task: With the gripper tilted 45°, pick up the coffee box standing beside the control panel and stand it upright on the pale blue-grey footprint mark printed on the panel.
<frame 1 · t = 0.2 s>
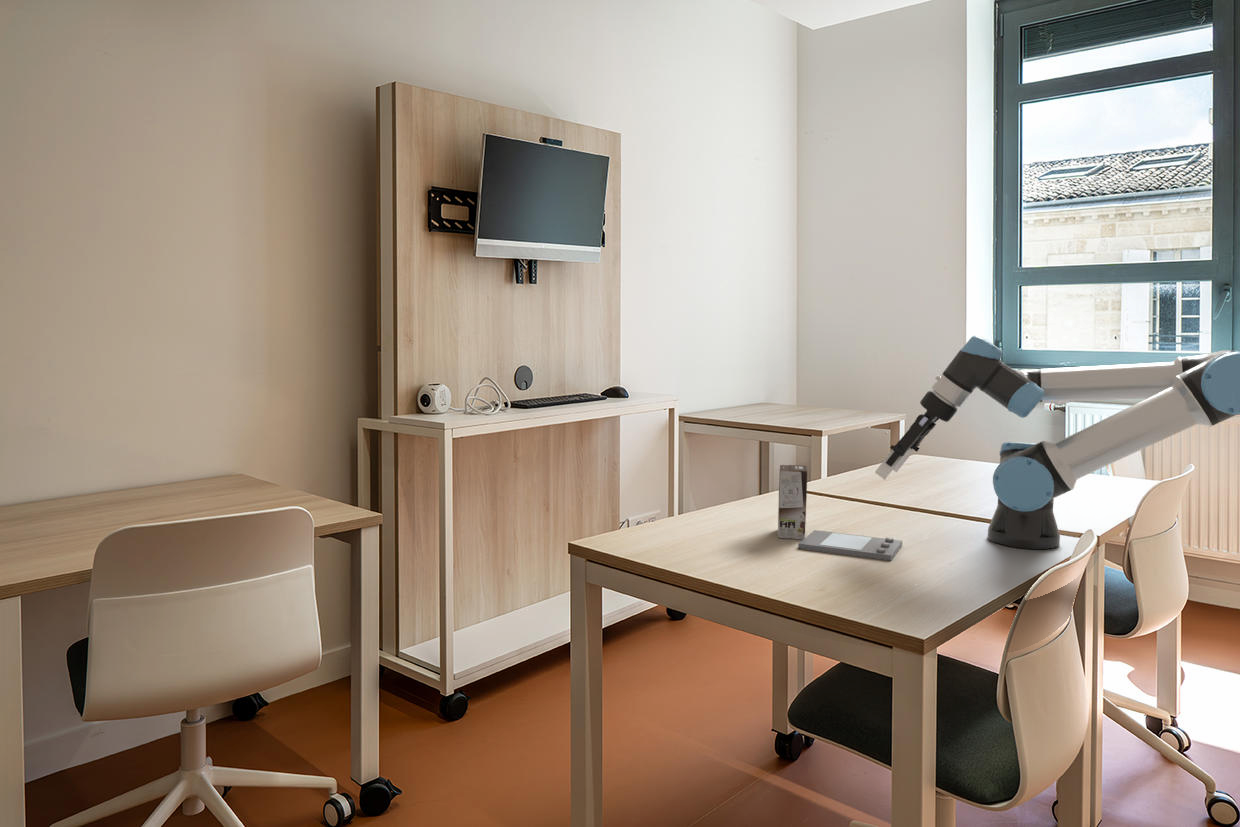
hand: (885, 472, 198), 16 cm above the table, tool tilted 35°, fingers open, 13 cm apart
coffee box: (791, 535, 203), on the table
control panel: (850, 547, 192), on the table
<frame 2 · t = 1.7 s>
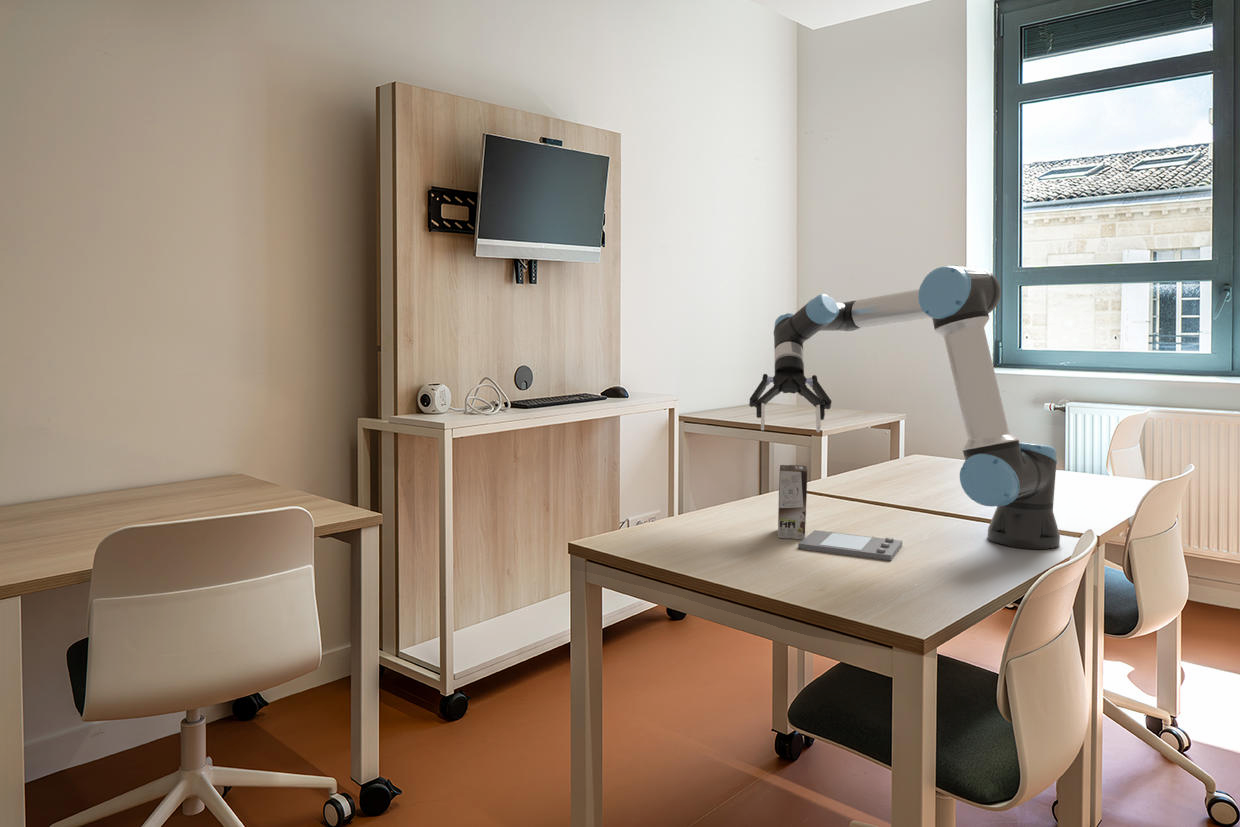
hand: (790, 428, 211), 24 cm above the table, tool tilted 45°, fingers open, 13 cm apart
nothing on the table moved.
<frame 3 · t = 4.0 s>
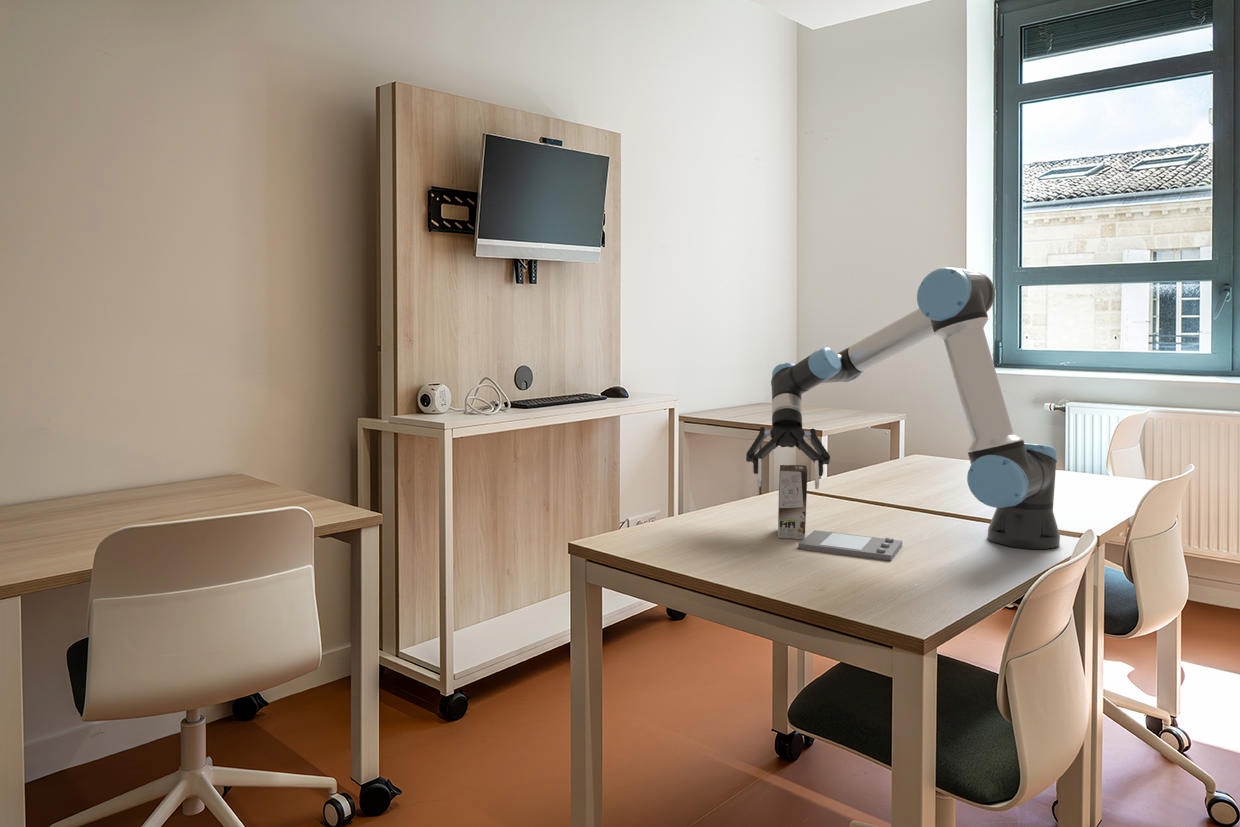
hand: (788, 485, 206), 11 cm above the table, tool tilted 45°, fingers open, 13 cm apart
nothing on the table moved.
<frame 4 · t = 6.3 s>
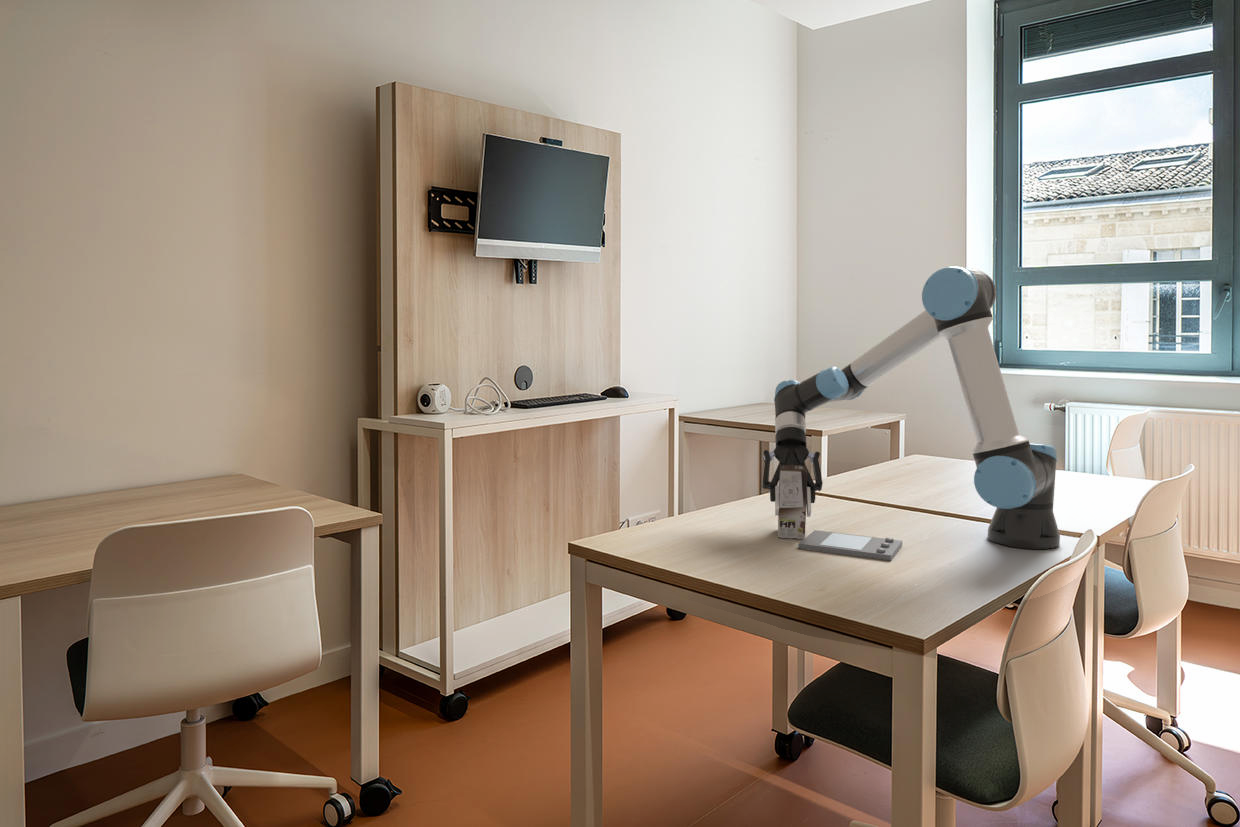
hand: (793, 512, 199), 6 cm above the table, tool tilted 45°, fingers closed on coffee box, 7 cm apart
coffee box: (791, 535, 203), on the table, touching gripper
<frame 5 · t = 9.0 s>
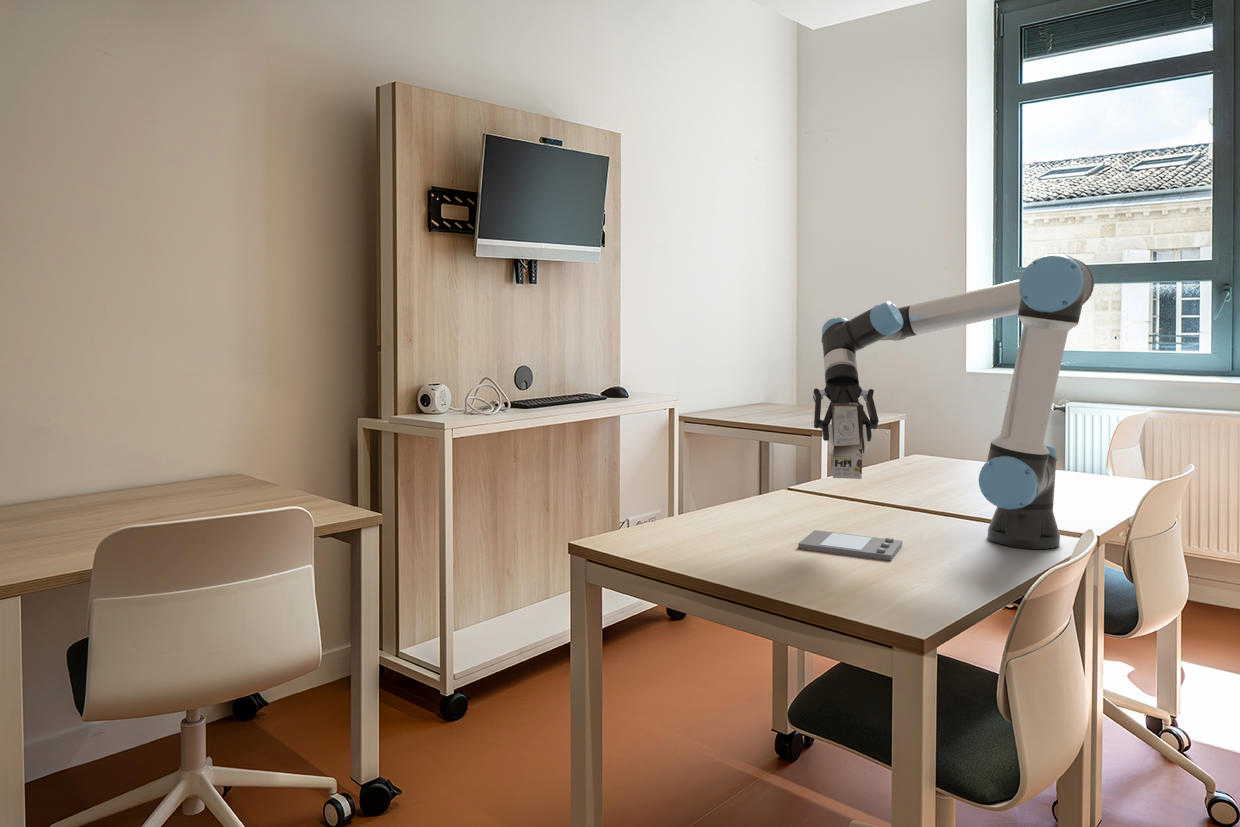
hand: (848, 451, 187), 22 cm above the table, tool tilted 45°, fingers closed on coffee box, 7 cm apart
coffee box: (846, 476, 191), point 16 cm above the table, touching gripper
when the fingers open (8 cm above the table, at t = 12.2 s): coffee box stays where it is, resting on control panel.
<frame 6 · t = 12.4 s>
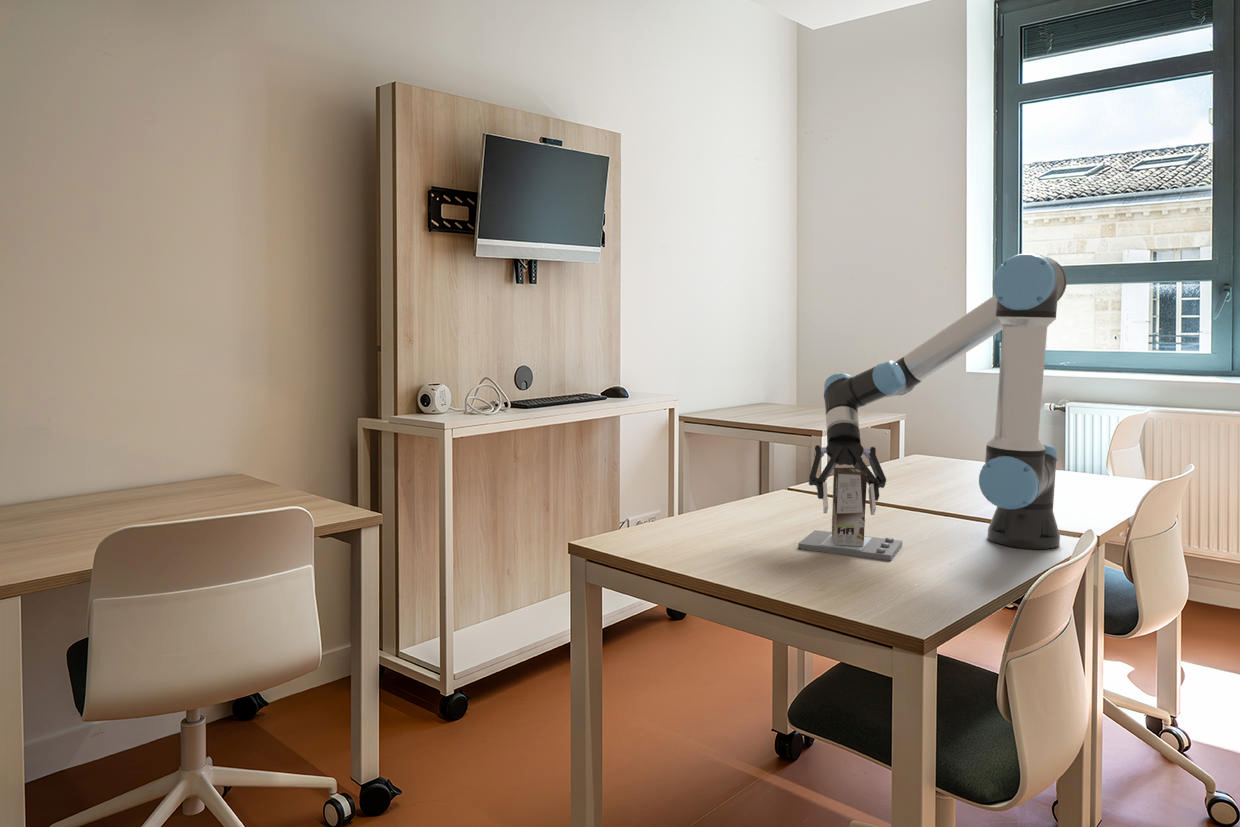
hand: (849, 510, 188), 9 cm above the table, tool tilted 45°, fingers open, 9 cm apart
coffee box: (847, 542, 192), point 1 cm above the table, touching control panel
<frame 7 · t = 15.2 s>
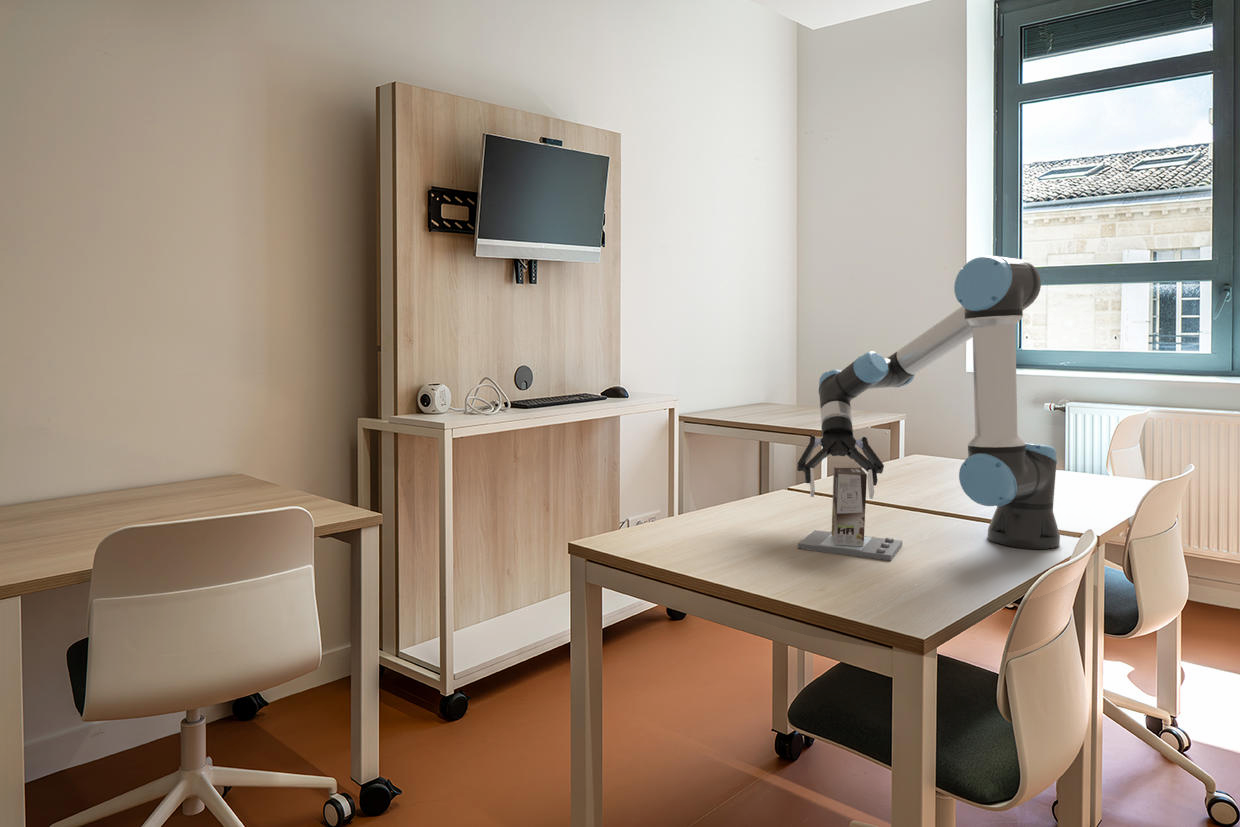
hand: (842, 494, 202), 10 cm above the table, tool tilted 45°, fingers open, 13 cm apart
nothing on the table moved.
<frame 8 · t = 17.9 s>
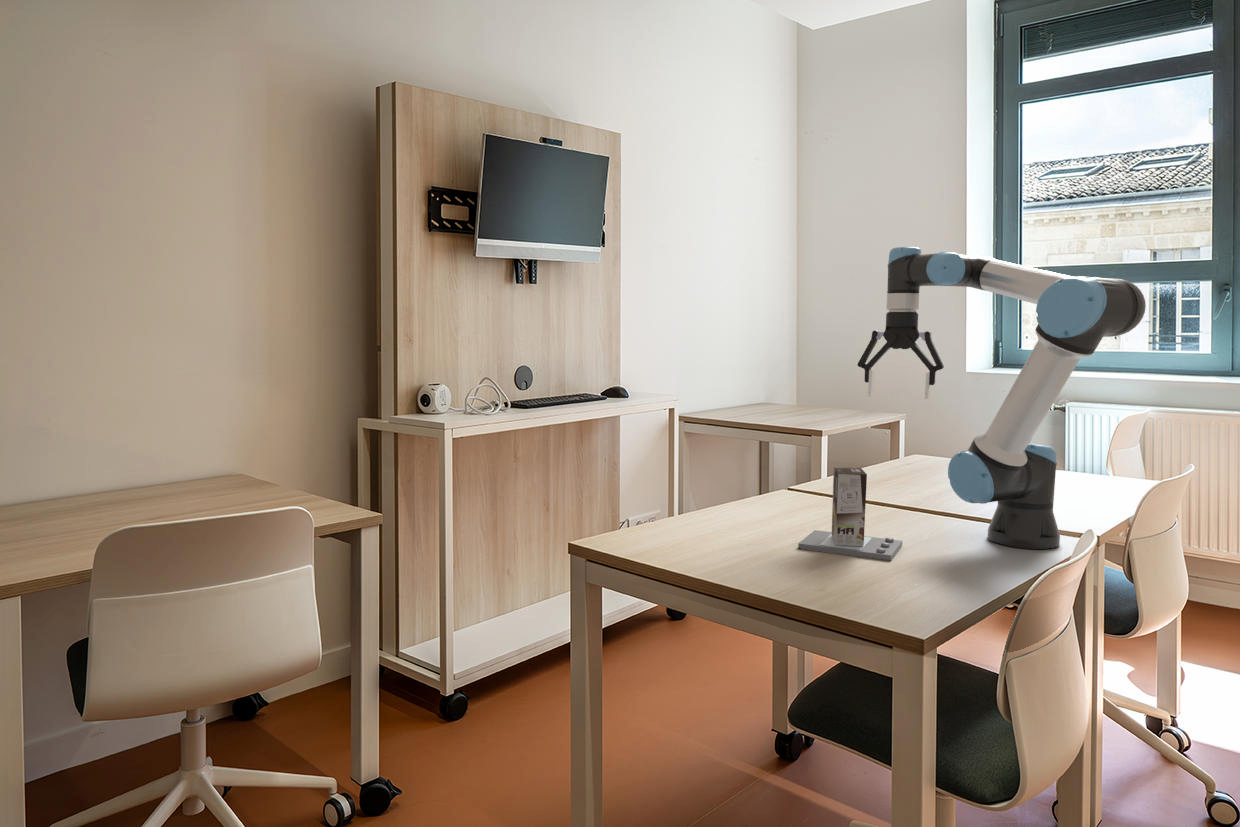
hand: (898, 397, 213), 32 cm above the table, tool pointing down, fingers open, 13 cm apart
nothing on the table moved.
at the end: coffee box inside the target area on the control panel (0.2 cm from its centre), point 1.1 cm above the control panel's base; coffee box tilted 0°; the gripper is holding nothing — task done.
